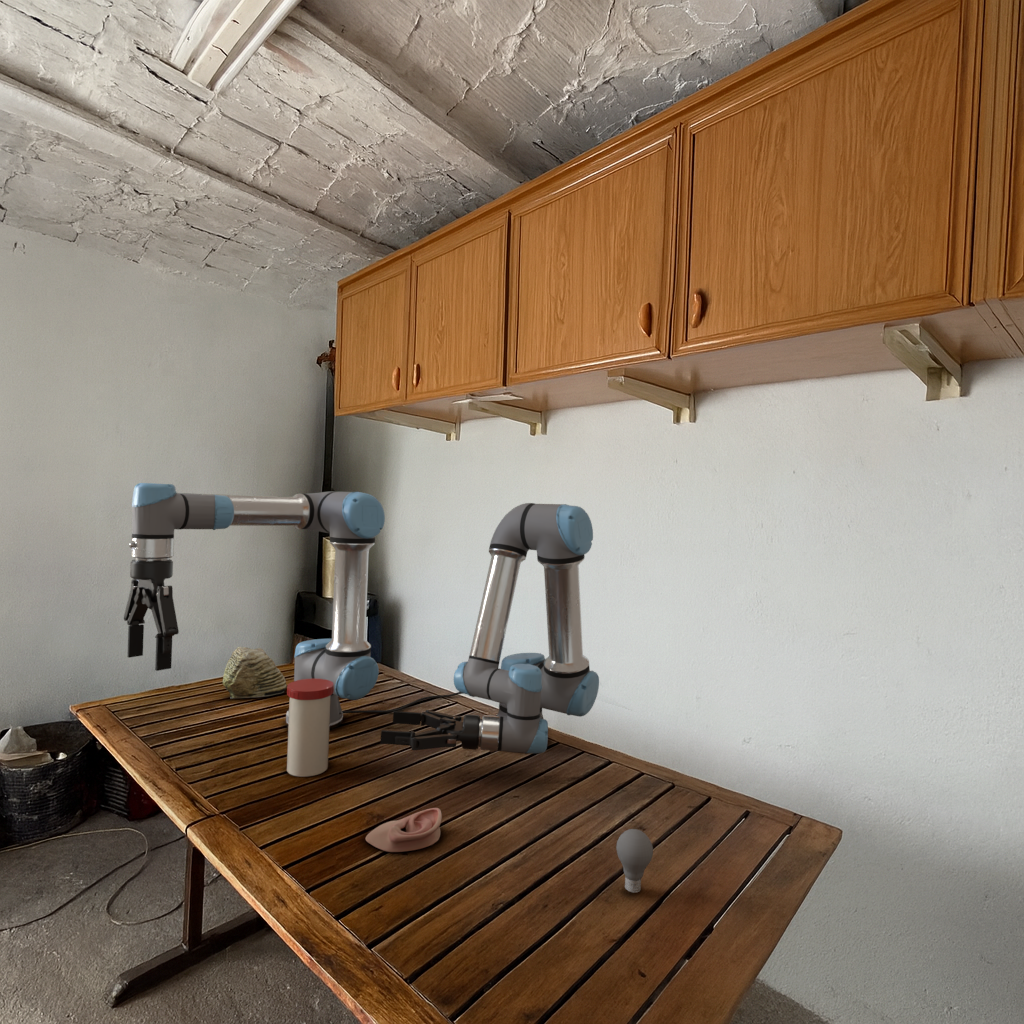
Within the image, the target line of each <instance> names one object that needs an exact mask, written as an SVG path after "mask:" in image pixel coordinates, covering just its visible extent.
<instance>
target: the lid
mask: <svg viewBox="0 0 1024 1024" xmlns="http://www.w3.org/2000/svg"><path fill="white" fill-rule="evenodd" d="M333 692H334V685H333V682H331V681H329V680H325V679H302V680H297V681H294V680H293V681H291V682H289V683H287V687H286V695H287V697H288V698H289V697H290V698H293V699H298V700H315V699H321V698H325V697H328V696H330V695H332V694H333Z"/></svg>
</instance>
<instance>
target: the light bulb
mask: <svg viewBox="0 0 1024 1024" xmlns="http://www.w3.org/2000/svg"><path fill="white" fill-rule="evenodd" d="M615 849H616V854H617V857H618V859H619V861H620V863H621V865H622V867H623V873H624V874H623V875H624V876H625V878H624V888H625V890H627V891H628V892H630V893H634V894H635V893H639V892H640V891H641V889H642V887H641V886H642V879H643V877H644V875H645V871H646V868H647V867H648V866H649V864H650V863H651V861H652V859H653V855H654V847H653V843H652V841H651V838H649V836H648V835H647V834H646V833H645V832H643V831H642V830H641V829H636V828H629V829H627V830H625V831H623V832H622V833H621V834H620V835H619V837H618V839H617V841H616V847H615Z"/></svg>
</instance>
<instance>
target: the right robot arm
mask: <svg viewBox="0 0 1024 1024" xmlns="http://www.w3.org/2000/svg"><path fill="white" fill-rule="evenodd" d="M592 541H594V530H593V523H592V520H591V518H590V516H589V513H587V512H586V510H585V509H584V508H582V507H581V506H578V505H570V504H566V503H565V504H564V503H535V502H525V503H522V504H519V505H517V506H515V507H513V508H512V509H511V510H509V511H508V512H507V513H506V514H505V515H504V517H502V519H501V520H500V522H499V523H498V525H497V526H496V527H495V530H494V532H493V534H492V537H491V539H490V543H489V546H488V547H489V548H488V553H489V555H490V557H491V558H490V562H489V566H488V570H487V575H486V579H485V584H484V589H483V593H482V598H481V602H480V606H479V611H478V616H477V620H476V625H475V628H474V634H473V638H472V642H471V647H470V651H469V655H468V660H467V661H462V662H460V663H459V664H458V665H457V669H455V671H454V674H453V684H454V688H455V689H456V690H457V692H461V693H464V695H467V696H469V695H470V696H469V697H472V698H479V699H484V700H488V701H492V702H496V703H498V712H497V715H490V714H489V715H488V714H487V715H486V714H484V715H482V717H481V716H480V714H468V713H467V714H465V715H464V716H461V715H452V714H448V713H443V712H440V711H435V710H431V709H426V710H425V711H423V712H413V711H401V710H400V711H394V712H392V713H393V715H392V724H394V725H395V724H396V725H397V724H398V725H412V726H420V727H425V726H427V727H430V728H432V730H431V729H430V730H426V731H421V732H415V731H414V730H411V731H403V730H402V731H400V730H388V729H387V730H385V729H382V730H381V731H380V742H379V743H380V745H392V746H393V745H395V746H409V747H411V751H422V750H430V749H431V750H433V749H439V748H456V747H457V742H461V748H462V749H463V750H471V751H472V750H474V751H476V750H478V748H479V749H480V750H481V751H488V752H489V753H494V752H506V753H507V752H508V753H519V754H520V753H521V754H544V753H545V752H546V751H547V748H548V741H549V723H548V722H549V721H548V720H547V719H546V718H545V719H544V715H543V709H544V710H548V711H553V712H557V713H561V714H565V715H566V716H574V717H579V718H580V717H584V716H586V715H588V714H589V712H590V711H591V710H592V709H593V706H594V705H595V702H596V700H597V697H598V693H599V687H600V677H599V675H598V673H597V672H596V671H595V670H591V669H590V660H589V658H588V657H586V655H584V649H583V627H582V608H581V606H582V605H581V584H580V582H581V581H580V565H581V563H582V562H584V560H585V555H586V554H588V553H589V552H590V551H591V549H592V545H593V543H592ZM529 551H536V557H537V558H536V559H537V562H538V563H539V564H540V565H541V566H542V567H543V575H544V591H545V607H546V609H545V611H546V625H547V626H546V627H547V644H548V655H547V657H545V655H544V654H542V653H541V652H540V653H539V652H520V653H513V654H509V655H506V656H504V658H502V660H501V657H502V651H503V646H504V643H505V638H506V634H507V629H508V624H509V620H510V615H511V611H512V606H513V600H514V596H515V591H516V586H517V584H518V583H517V582H518V578H519V573H520V569H521V565H522V564H521V563H523V562H525V561H526V560H527V555H528V552H529ZM500 661H501V662H500ZM500 663H501V664H500ZM499 667H500V668H499ZM462 718H463V721H462Z"/></svg>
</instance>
